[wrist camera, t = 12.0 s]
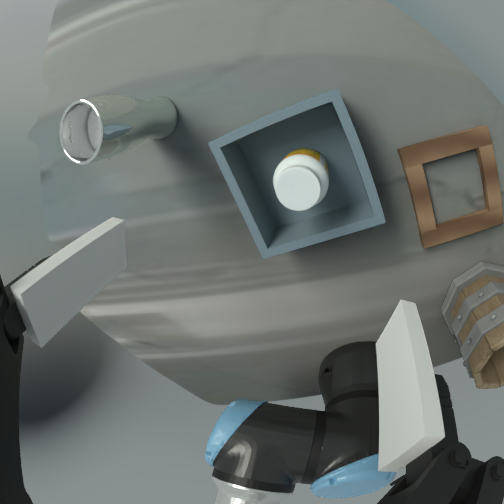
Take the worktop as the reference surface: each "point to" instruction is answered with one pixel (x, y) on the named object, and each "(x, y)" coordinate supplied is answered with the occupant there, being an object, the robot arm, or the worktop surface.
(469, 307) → the tankard
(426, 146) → the socket frame
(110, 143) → the beer glass
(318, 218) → the bin
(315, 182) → the supplement bottle
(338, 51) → the worktop surface
